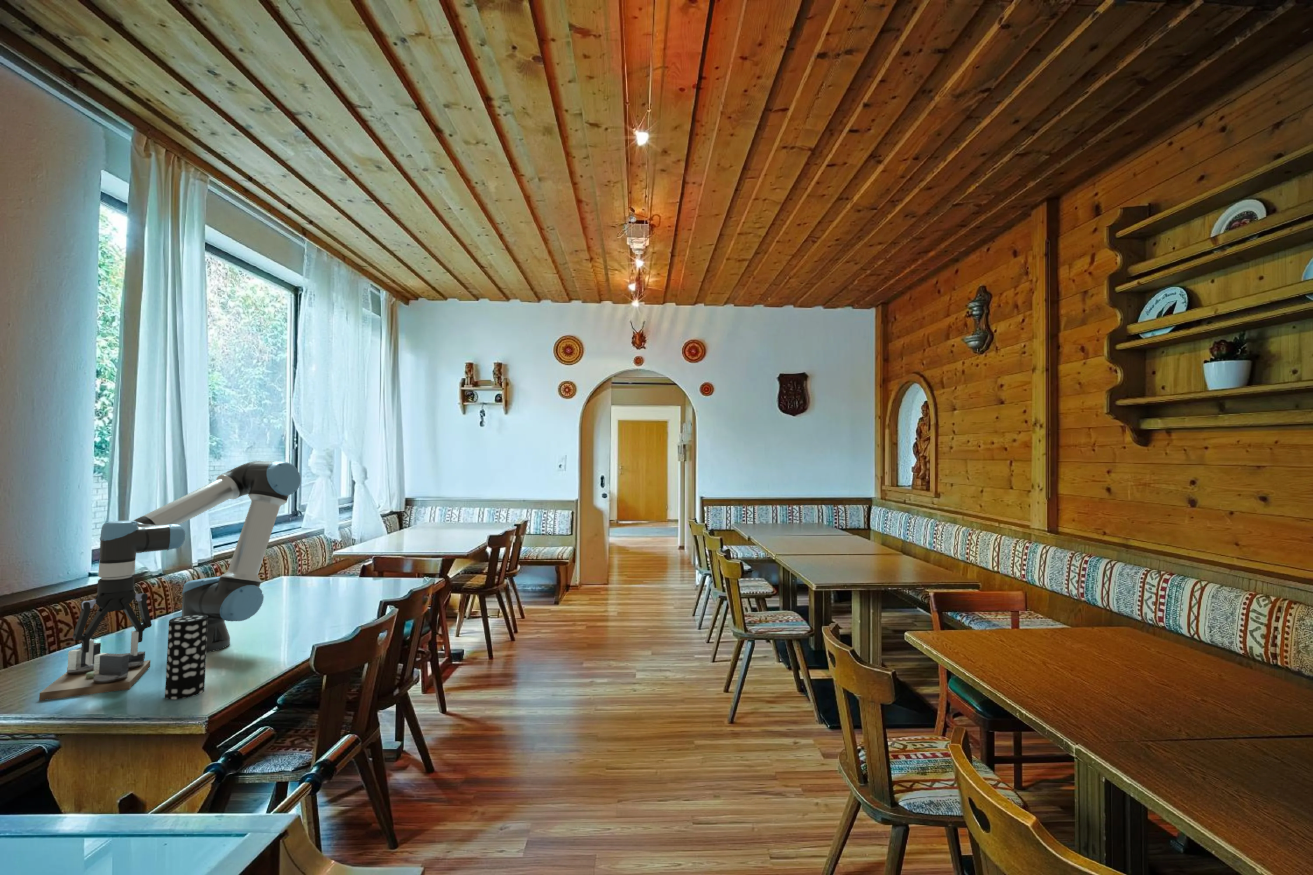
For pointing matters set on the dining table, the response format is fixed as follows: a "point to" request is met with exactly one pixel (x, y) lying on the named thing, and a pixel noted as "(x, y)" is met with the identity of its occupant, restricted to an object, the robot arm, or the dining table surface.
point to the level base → (90, 684)
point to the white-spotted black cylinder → (186, 656)
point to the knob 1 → (81, 660)
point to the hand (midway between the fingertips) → (111, 659)
